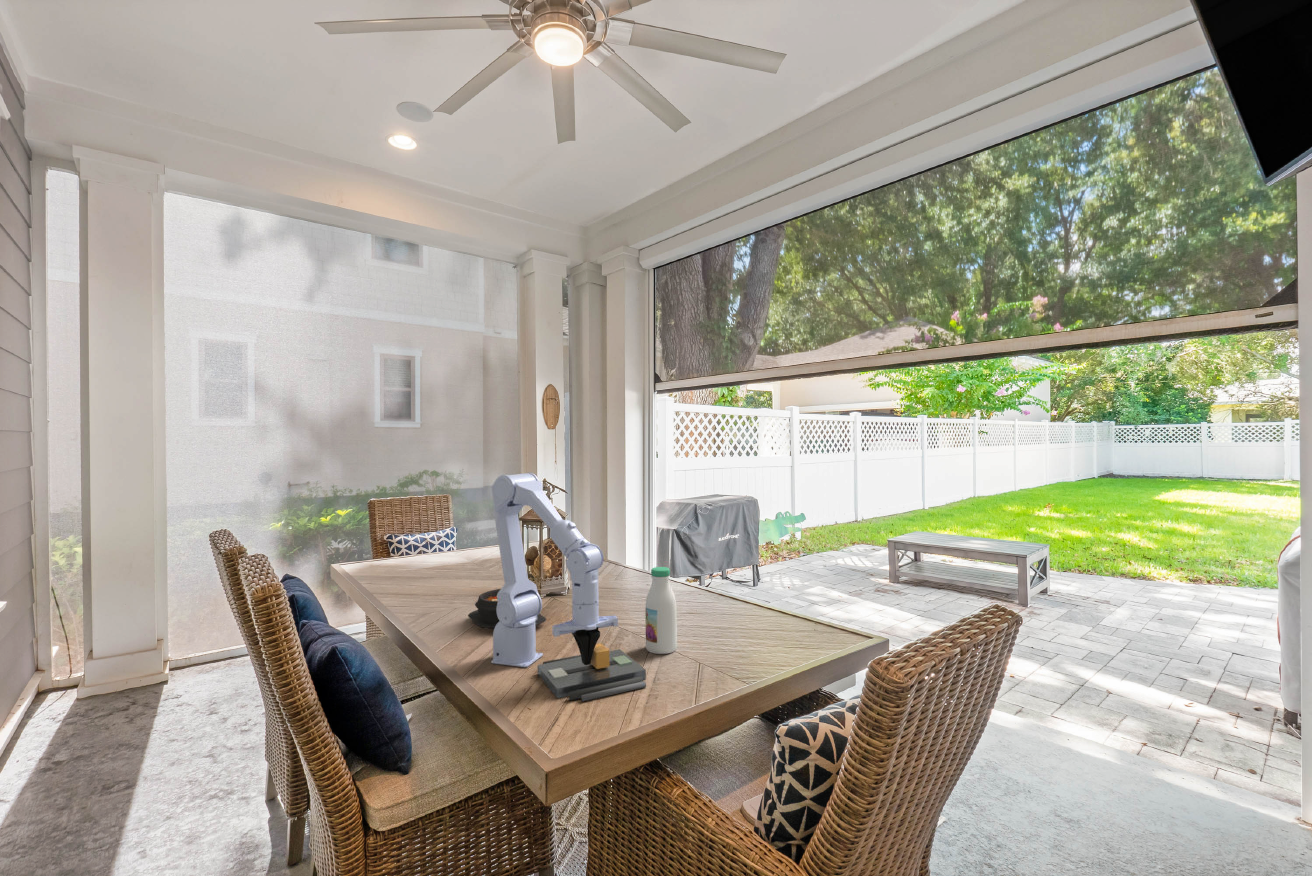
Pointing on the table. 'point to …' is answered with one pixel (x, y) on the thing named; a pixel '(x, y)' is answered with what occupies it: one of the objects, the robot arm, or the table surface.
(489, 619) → the casserole
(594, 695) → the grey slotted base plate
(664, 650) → the milk bottle
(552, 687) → the grey flat slab
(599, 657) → the lever
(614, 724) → the table surface
